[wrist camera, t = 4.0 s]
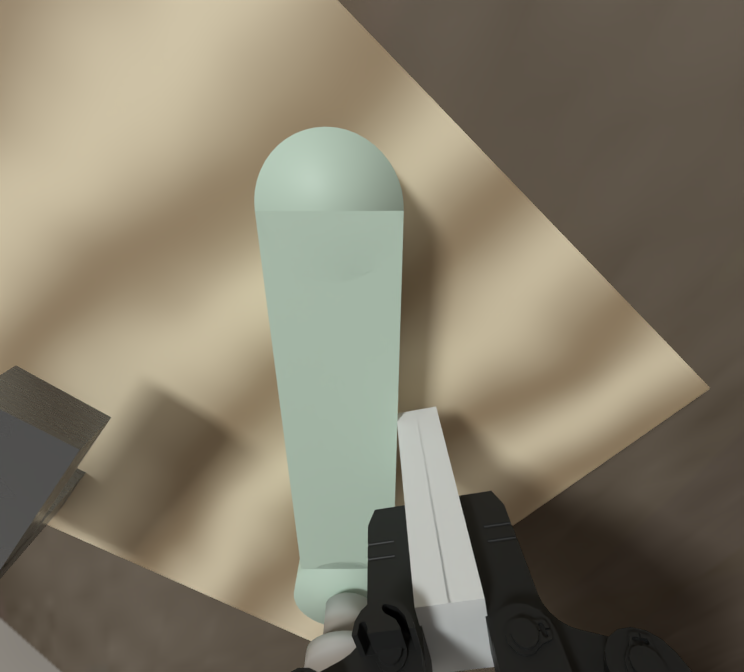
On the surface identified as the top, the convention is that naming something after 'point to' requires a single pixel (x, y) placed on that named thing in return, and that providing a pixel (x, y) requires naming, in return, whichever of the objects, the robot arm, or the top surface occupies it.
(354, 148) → the link
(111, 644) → the top surface
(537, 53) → the top surface
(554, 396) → the base board
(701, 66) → the top surface
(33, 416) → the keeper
